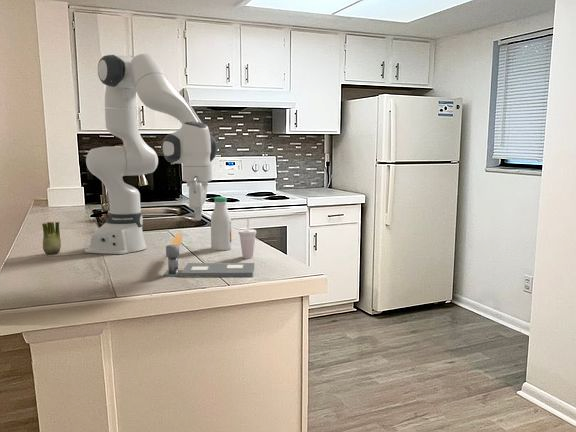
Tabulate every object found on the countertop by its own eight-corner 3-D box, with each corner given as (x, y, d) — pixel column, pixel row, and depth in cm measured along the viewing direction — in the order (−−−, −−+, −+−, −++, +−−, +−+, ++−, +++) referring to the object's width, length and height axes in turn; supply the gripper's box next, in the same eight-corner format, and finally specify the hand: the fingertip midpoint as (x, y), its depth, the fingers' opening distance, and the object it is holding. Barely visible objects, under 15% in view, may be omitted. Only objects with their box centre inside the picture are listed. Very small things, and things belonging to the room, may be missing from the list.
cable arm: (178, 257, 157) (178, 247, 156) (165, 257, 156) (165, 247, 156) (184, 241, 180) (184, 232, 180) (173, 241, 180) (172, 232, 179)
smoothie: (242, 260, 177) (242, 220, 175) (236, 256, 183) (235, 218, 180) (259, 258, 180) (259, 219, 178) (252, 254, 186) (252, 216, 183)
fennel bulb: (61, 252, 189) (59, 220, 187) (60, 255, 185) (58, 222, 183) (44, 253, 187) (42, 221, 186) (42, 256, 183) (40, 223, 181)
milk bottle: (227, 251, 190) (226, 198, 187) (208, 250, 192) (207, 198, 189) (234, 247, 198) (233, 196, 195) (215, 246, 199) (214, 195, 196)
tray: (181, 276, 156) (181, 271, 156) (188, 266, 168) (188, 262, 168) (252, 276, 157) (252, 271, 156) (254, 266, 169) (254, 262, 168)
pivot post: (163, 276, 157) (163, 258, 156) (167, 272, 162) (166, 255, 161) (179, 276, 157) (179, 258, 156) (182, 271, 162) (182, 255, 161)
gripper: (205, 177, 146) (206, 225, 148) (209, 172, 166) (210, 214, 168) (183, 178, 145) (184, 225, 148) (189, 172, 166) (191, 214, 168)
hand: (198, 219), depth 158 cm, fingers closed
